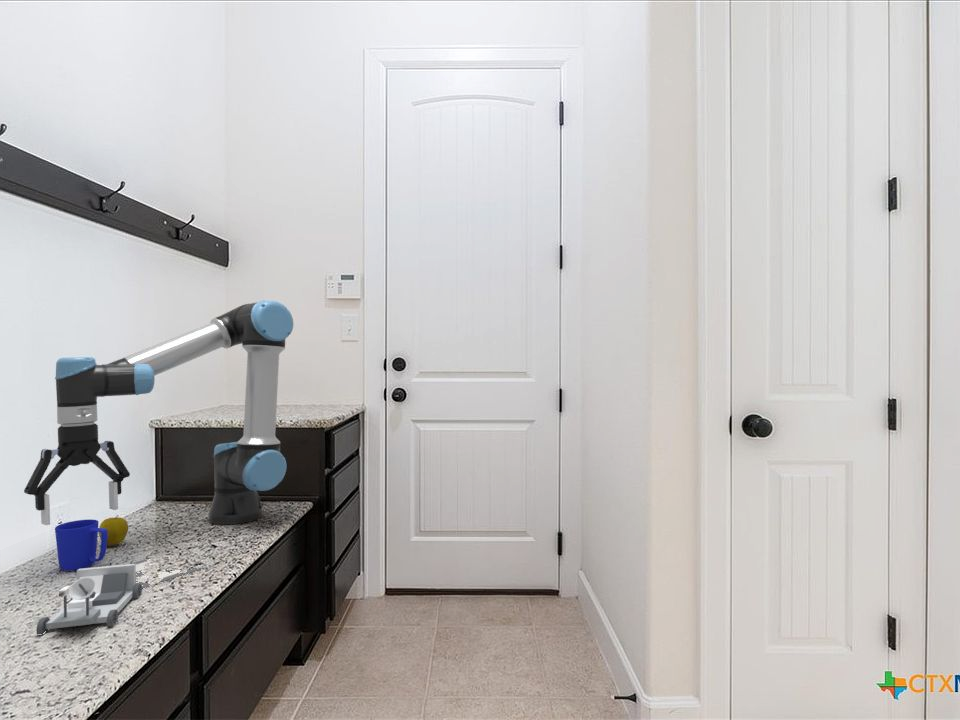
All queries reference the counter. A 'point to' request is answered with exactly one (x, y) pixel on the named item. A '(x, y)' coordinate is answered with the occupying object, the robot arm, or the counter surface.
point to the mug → (79, 544)
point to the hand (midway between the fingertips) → (81, 516)
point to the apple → (115, 530)
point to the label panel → (164, 574)
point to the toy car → (95, 597)
